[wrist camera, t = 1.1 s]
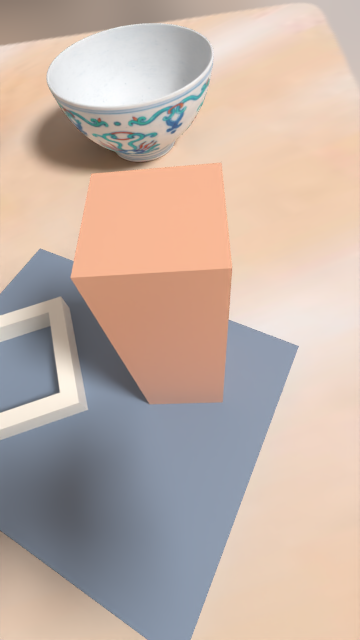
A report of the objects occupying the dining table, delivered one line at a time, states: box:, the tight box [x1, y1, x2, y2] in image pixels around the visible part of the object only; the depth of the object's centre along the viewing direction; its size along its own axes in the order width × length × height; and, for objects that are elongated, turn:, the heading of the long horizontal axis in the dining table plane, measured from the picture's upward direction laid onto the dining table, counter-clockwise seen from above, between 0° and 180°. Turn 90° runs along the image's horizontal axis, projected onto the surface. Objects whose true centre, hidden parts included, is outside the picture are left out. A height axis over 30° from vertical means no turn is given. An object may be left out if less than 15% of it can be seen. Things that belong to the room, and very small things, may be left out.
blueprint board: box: [0, 249, 299, 640], centre depth 22 cm, size 17×22×1 cm
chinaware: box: [47, 23, 214, 162], centre depth 33 cm, size 15×15×8 cm
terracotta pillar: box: [71, 163, 232, 404], centre depth 16 cm, size 4×4×13 cm
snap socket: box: [0, 297, 88, 440], centre depth 22 cm, size 8×8×2 cm
